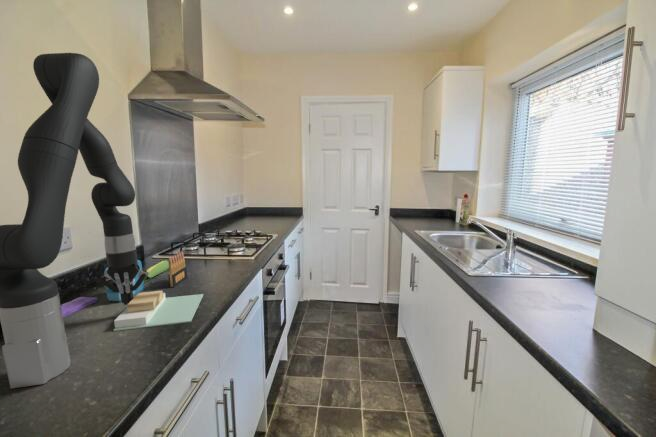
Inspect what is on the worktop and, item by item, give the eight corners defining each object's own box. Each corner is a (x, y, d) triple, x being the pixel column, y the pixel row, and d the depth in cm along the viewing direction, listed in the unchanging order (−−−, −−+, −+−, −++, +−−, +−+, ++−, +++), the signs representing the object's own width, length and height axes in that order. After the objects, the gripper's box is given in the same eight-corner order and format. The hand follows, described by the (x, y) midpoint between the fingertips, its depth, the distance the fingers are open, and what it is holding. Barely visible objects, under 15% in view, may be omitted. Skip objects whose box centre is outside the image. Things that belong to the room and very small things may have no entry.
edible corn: (173, 267, 139) (172, 258, 138) (148, 283, 119) (147, 272, 119) (162, 268, 139) (160, 258, 138) (135, 284, 119) (133, 273, 118)
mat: (190, 322, 87) (190, 320, 87) (113, 331, 83) (113, 329, 83) (203, 294, 106) (203, 293, 106) (141, 301, 102) (141, 300, 102)
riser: (146, 324, 85) (145, 317, 85) (115, 328, 84) (114, 320, 83) (165, 298, 103) (165, 292, 102) (140, 301, 101) (139, 295, 101)
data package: (119, 303, 101) (115, 269, 99) (107, 302, 102) (102, 269, 100) (145, 289, 113) (141, 258, 111) (134, 289, 113) (130, 258, 112)
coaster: (154, 309, 90) (153, 301, 89) (128, 312, 88) (127, 304, 88) (163, 297, 98) (162, 290, 98) (139, 300, 97) (138, 292, 96)
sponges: (98, 302, 103) (97, 297, 103) (59, 320, 91) (58, 314, 91) (81, 301, 104) (80, 296, 104) (41, 318, 92) (40, 313, 92)
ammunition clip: (174, 287, 114) (170, 257, 112) (169, 287, 114) (166, 257, 112) (187, 277, 124) (184, 250, 123) (183, 277, 124) (180, 250, 123)
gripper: (88, 254, 84) (97, 311, 87) (140, 250, 87) (147, 306, 90) (101, 247, 91) (109, 301, 94) (149, 244, 94) (155, 296, 97)
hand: (128, 303), depth 92 cm, fingers closed
